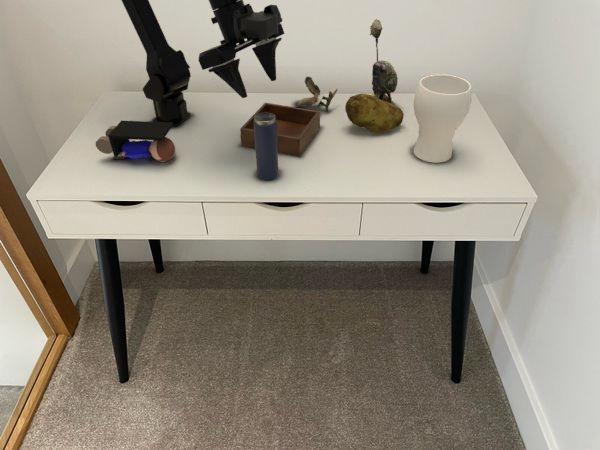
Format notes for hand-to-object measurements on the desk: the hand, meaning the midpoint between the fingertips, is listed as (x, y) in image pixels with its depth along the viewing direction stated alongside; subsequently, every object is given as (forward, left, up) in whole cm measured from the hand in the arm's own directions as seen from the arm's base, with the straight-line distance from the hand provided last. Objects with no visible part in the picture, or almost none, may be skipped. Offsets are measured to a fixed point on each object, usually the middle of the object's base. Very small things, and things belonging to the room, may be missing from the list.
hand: (259, 88), depth 96 cm
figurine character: (-23, -11, -14) cm, 29 cm away
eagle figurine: (+3, +23, -14) cm, 27 cm away
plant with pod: (+18, +28, -14) cm, 36 cm away
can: (+4, -8, -14) cm, 16 cm away
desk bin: (+1, +7, -14) cm, 16 cm away
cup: (+33, +11, -14) cm, 38 cm away
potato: (+19, +17, -14) cm, 29 cm away
